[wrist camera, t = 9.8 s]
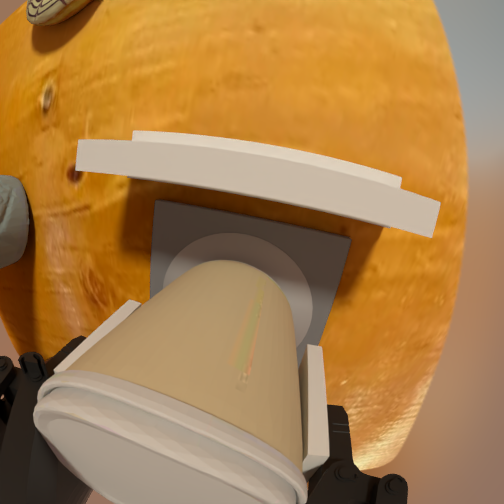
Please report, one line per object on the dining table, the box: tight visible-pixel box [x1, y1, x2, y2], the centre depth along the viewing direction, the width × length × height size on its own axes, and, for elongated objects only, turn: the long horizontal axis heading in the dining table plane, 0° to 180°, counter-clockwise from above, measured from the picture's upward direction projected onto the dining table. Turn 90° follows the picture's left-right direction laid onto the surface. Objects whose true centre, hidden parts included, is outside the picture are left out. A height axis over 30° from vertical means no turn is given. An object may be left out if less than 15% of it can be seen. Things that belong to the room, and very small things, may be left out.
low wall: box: [75, 131, 441, 238], centre depth 13 cm, size 3×16×6 cm, turn 80°
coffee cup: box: [33, 260, 308, 504], centre depth 11 cm, size 9×9×12 cm
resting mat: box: [150, 199, 351, 369], centre depth 18 cm, size 12×12×1 cm
